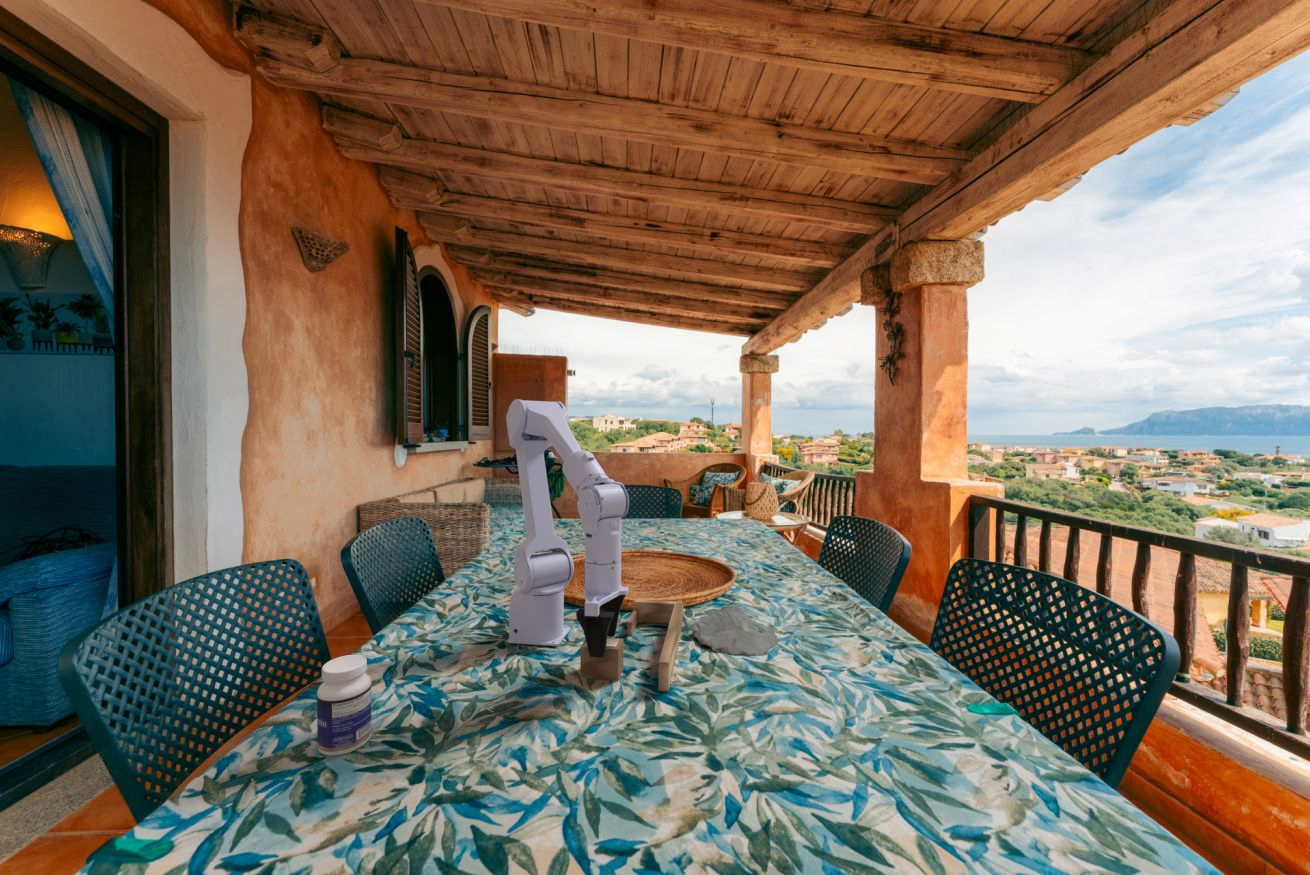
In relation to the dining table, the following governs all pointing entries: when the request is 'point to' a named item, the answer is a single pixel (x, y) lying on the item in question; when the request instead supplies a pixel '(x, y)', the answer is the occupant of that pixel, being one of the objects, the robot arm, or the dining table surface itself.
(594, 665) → the cabinet block
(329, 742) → the pill bottle
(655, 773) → the dining table surface
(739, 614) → the stone
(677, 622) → the wooden bracket
